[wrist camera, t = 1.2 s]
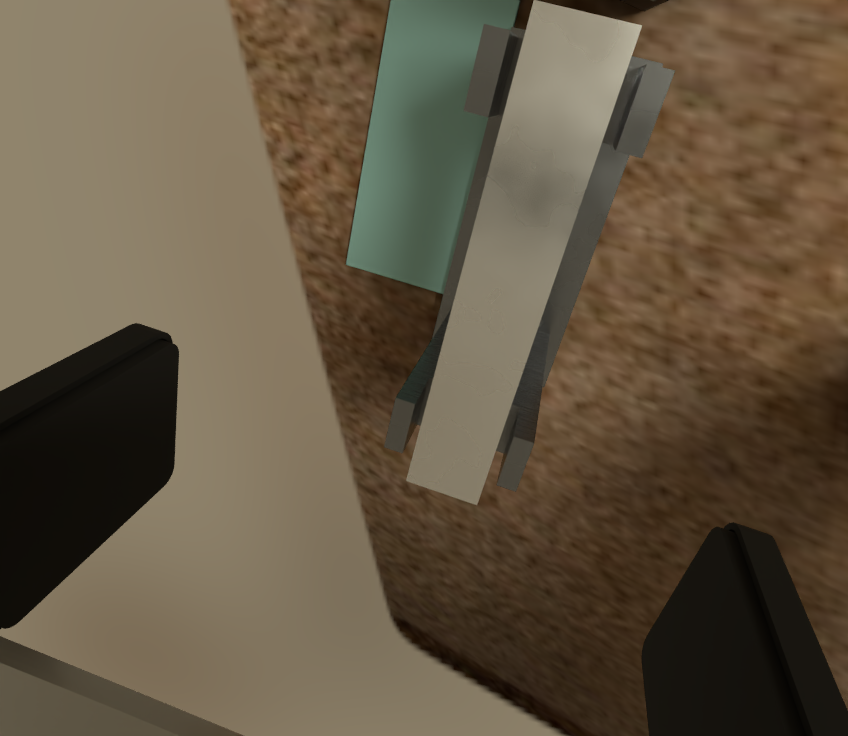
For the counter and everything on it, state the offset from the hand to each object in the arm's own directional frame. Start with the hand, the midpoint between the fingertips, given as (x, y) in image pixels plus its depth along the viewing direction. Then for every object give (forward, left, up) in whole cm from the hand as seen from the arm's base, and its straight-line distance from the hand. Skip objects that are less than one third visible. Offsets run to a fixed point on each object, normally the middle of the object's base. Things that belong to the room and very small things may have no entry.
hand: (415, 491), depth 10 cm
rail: (0, 0, -14) cm, 14 cm away
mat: (+6, -4, -24) cm, 25 cm away
